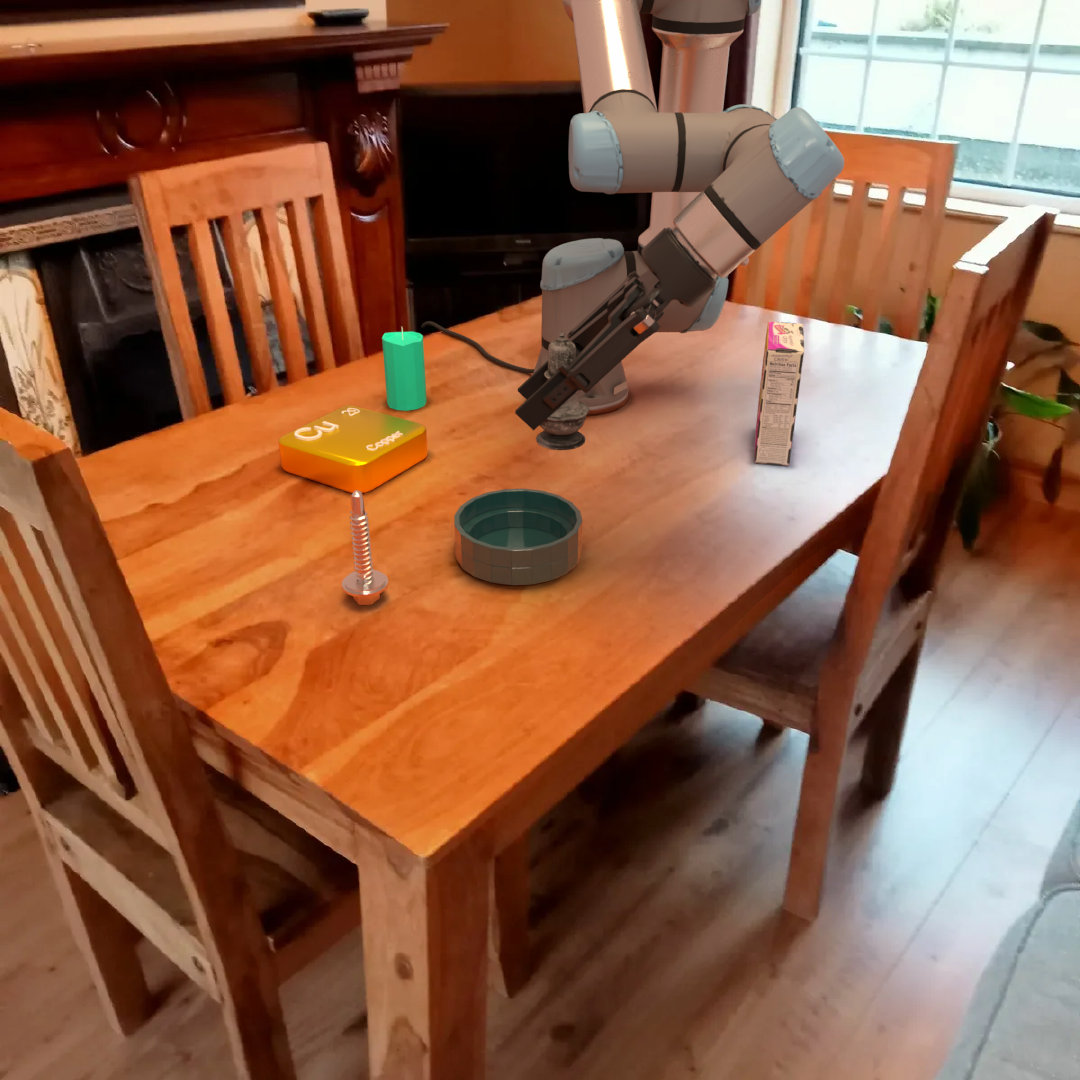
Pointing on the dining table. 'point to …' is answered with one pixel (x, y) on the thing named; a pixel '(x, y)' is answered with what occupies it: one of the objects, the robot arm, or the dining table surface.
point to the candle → (404, 370)
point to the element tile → (353, 448)
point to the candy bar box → (779, 392)
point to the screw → (362, 558)
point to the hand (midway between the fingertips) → (525, 408)
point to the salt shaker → (572, 413)
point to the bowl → (518, 536)
